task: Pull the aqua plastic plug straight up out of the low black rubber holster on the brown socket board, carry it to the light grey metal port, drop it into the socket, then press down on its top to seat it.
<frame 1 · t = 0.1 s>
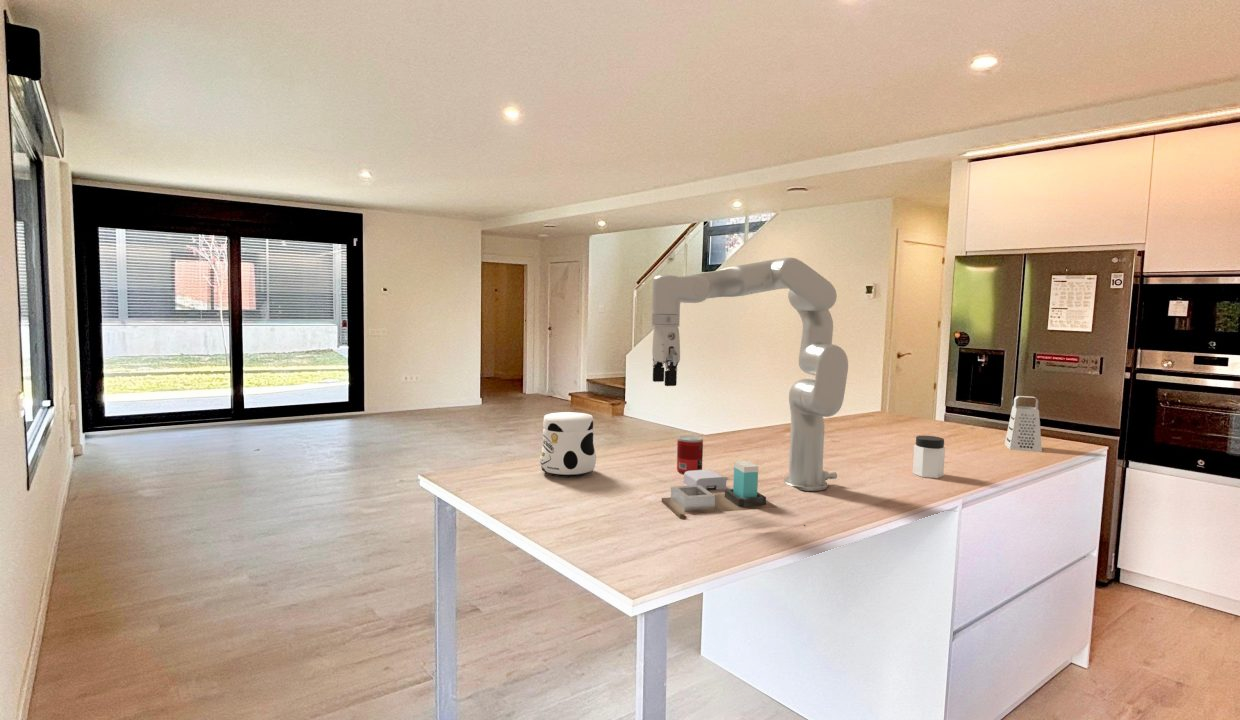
hand: (664, 383, 178), 31 cm above the table, fingers open, 9 cm apart
grater: (1022, 448, 251), on the table
brown socket board: (718, 506, 171), on the table
canned food: (689, 472, 206), on the table
jar: (927, 475, 207), on the table
milk container: (567, 474, 202), on the table
plug: (744, 500, 173), point 1 cm above the table, touching brown socket board
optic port: (692, 508, 169), resting on brown socket board
charger: (700, 487, 190), on the table
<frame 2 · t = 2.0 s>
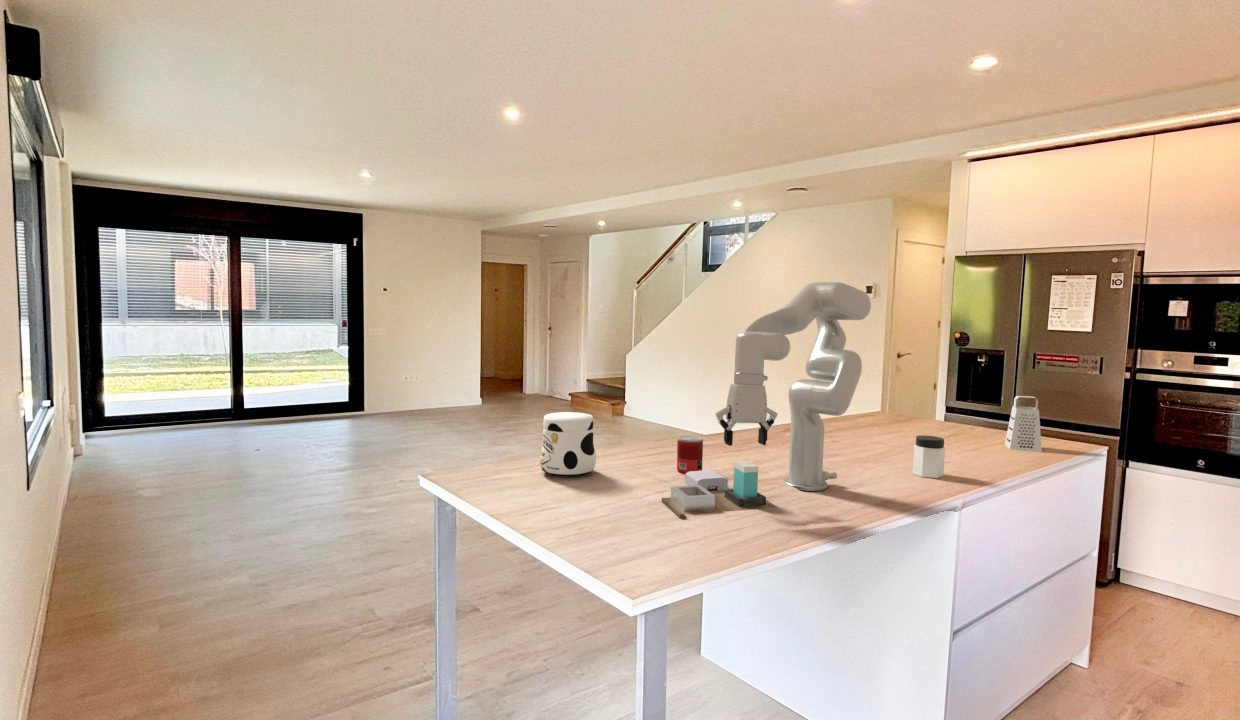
hand: (745, 444, 171), 16 cm above the table, fingers open, 9 cm apart
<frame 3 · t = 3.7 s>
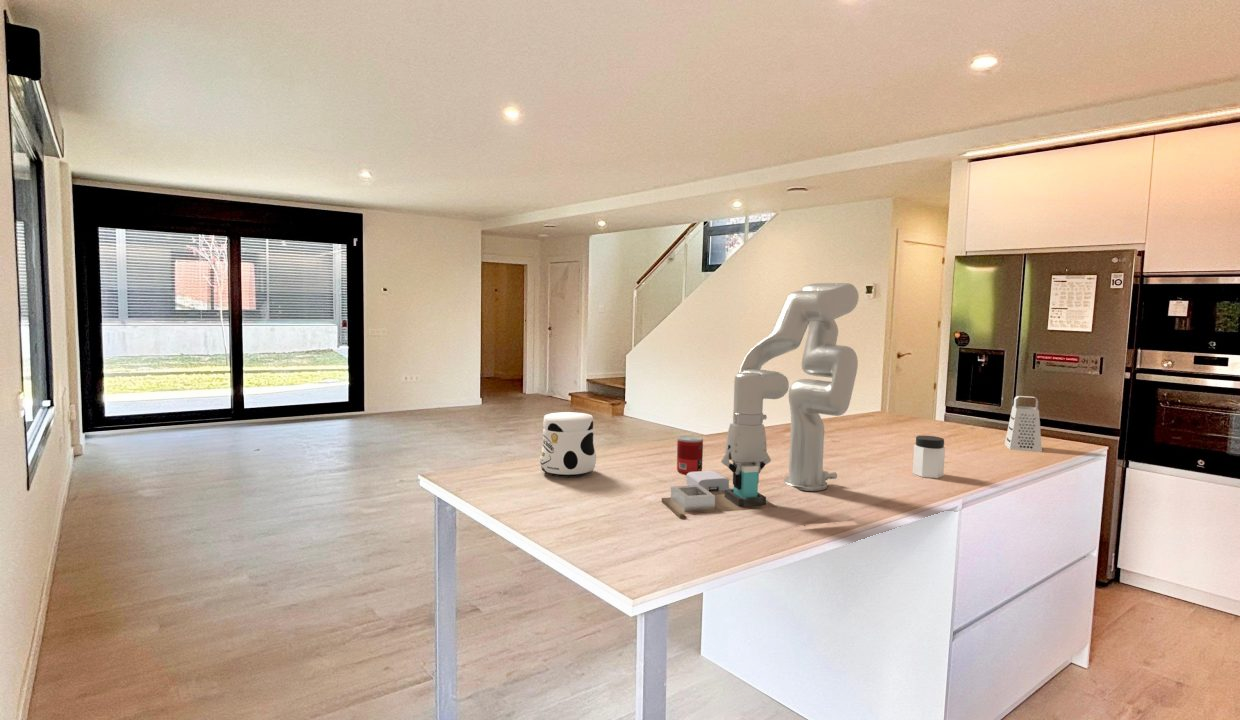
hand: (745, 486, 172), 5 cm above the table, fingers closed on plug, 4 cm apart
plug: (745, 500, 173), point 1 cm above the table, touching brown socket board, gripper
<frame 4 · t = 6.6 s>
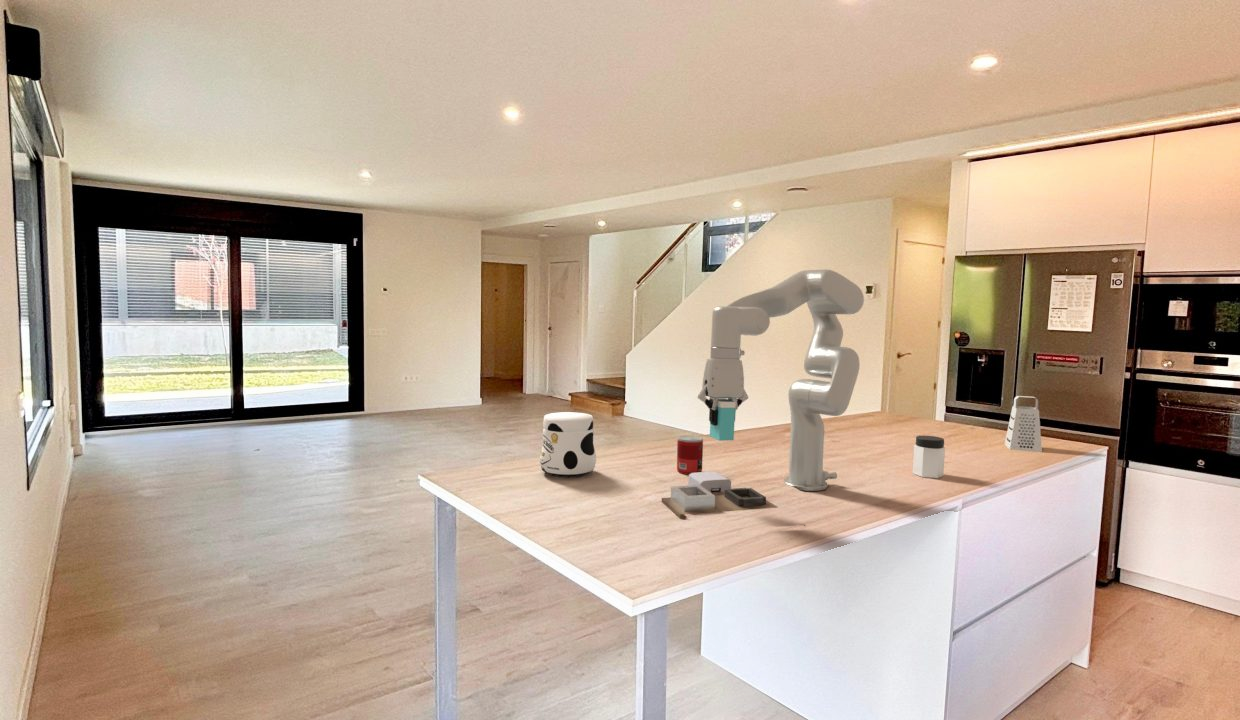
hand: (721, 423, 169), 22 cm above the table, fingers closed on plug, 4 cm apart
plug: (721, 438, 169), point 18 cm above the table, touching gripper
charger: (704, 489, 187), on the table
everything else where it was.
when the fingers open (6 cm above the table, at t = 9.4 s): plug drops 1 cm, resting on brown socket board.
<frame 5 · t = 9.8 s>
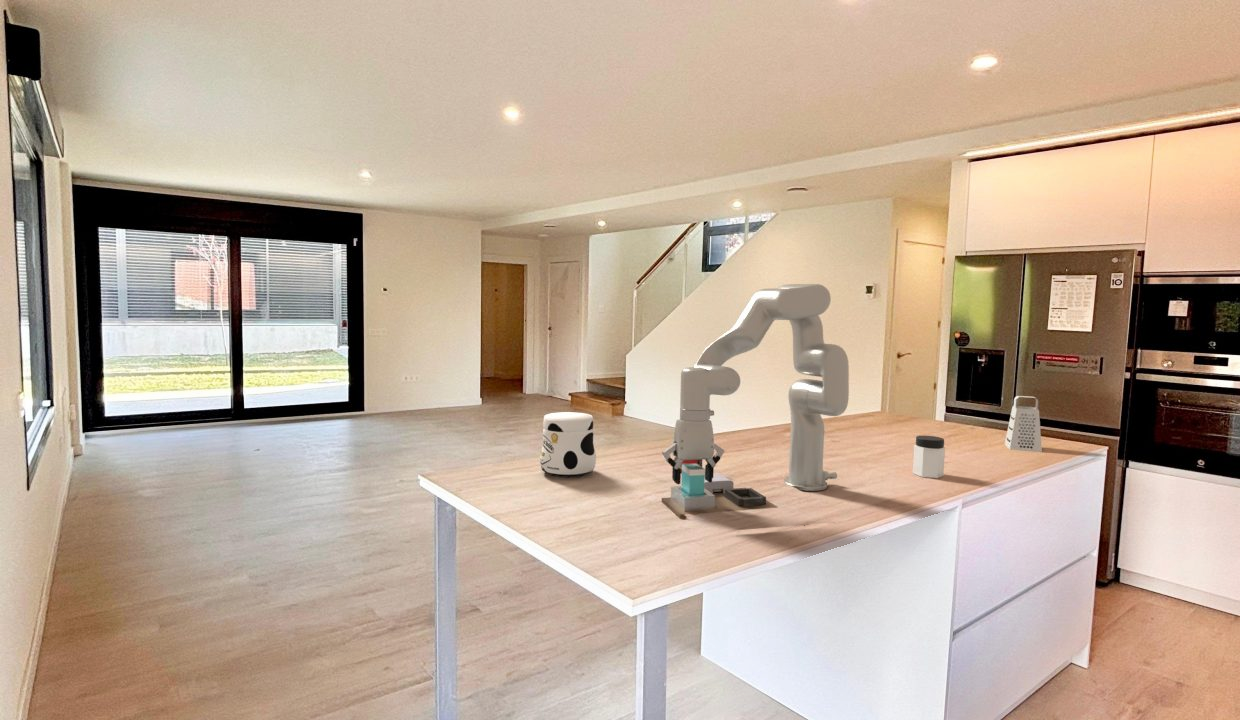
hand: (692, 481, 168), 7 cm above the table, fingers open, 8 cm apart
plug: (692, 504, 169), point 1 cm above the table, touching brown socket board
charger: (707, 491, 186), on the table
everything else where it was.
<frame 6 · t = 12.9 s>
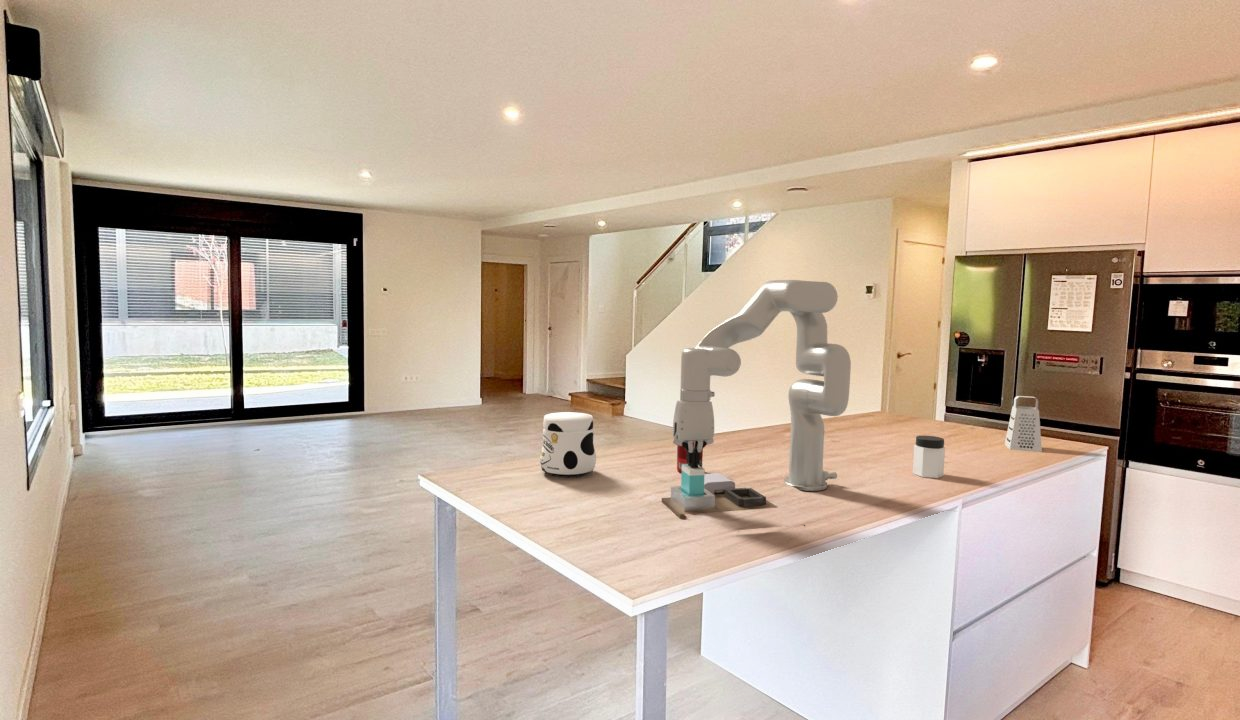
hand: (692, 466, 168), 11 cm above the table, fingers closed
plug: (692, 504, 169), point 1 cm above the table, touching brown socket board, gripper
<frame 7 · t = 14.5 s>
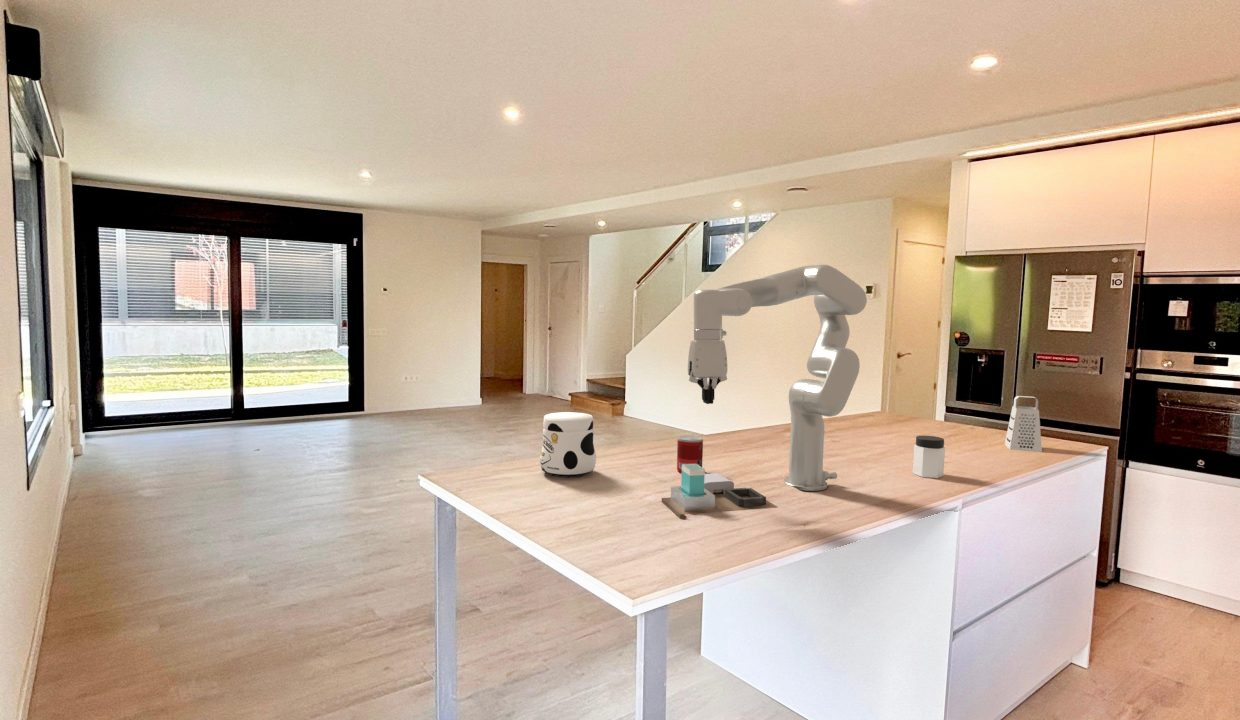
hand: (708, 402, 176), 26 cm above the table, fingers closed
plug: (692, 504, 169), point 1 cm above the table, touching brown socket board
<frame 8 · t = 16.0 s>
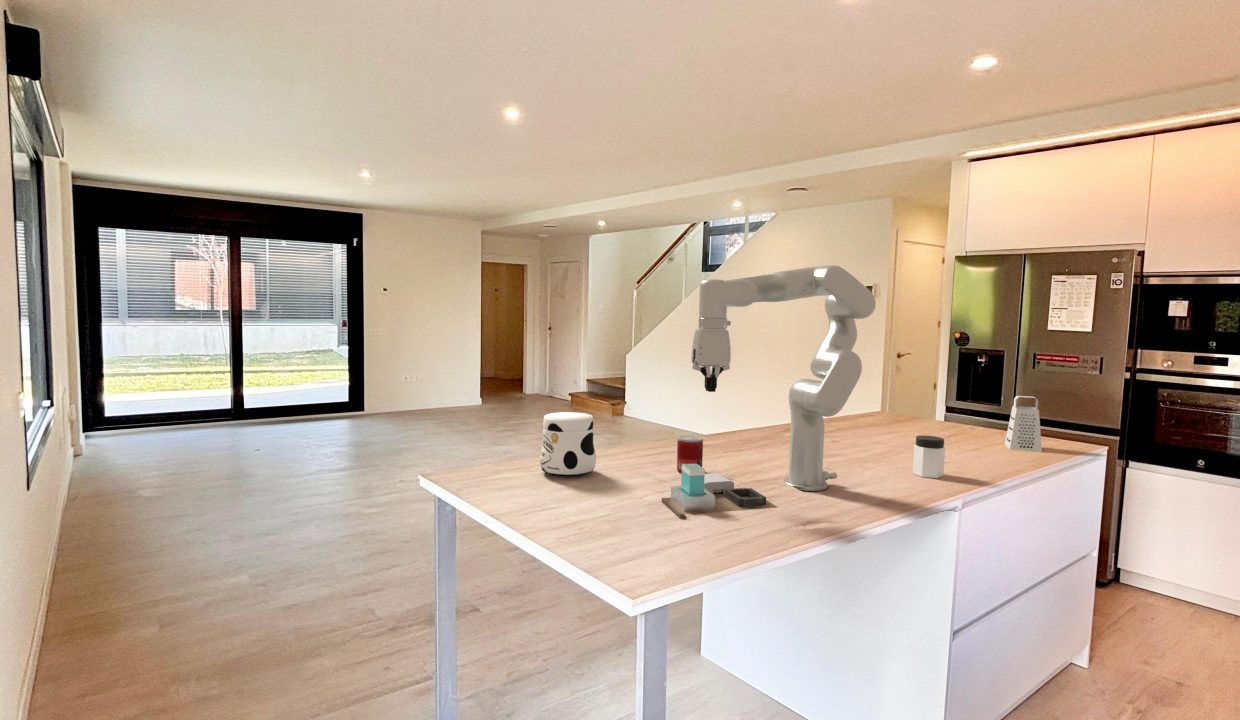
hand: (710, 391, 179), 29 cm above the table, fingers closed
charger: (707, 491, 186), on the table, touching brown socket board
everything else where it was.
at the end: plug 0.0 cm off-centre on the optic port, point 1.0 cm above the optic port's base; plug tilted 0°; the gripper is holding nothing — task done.
